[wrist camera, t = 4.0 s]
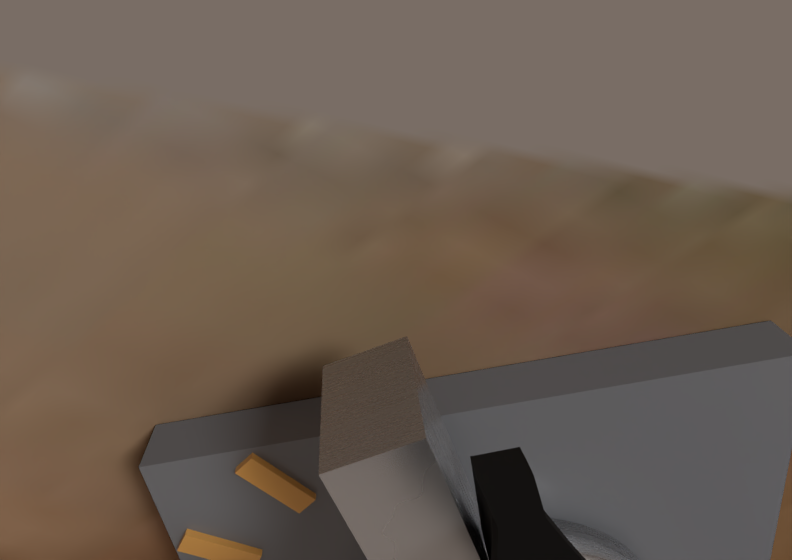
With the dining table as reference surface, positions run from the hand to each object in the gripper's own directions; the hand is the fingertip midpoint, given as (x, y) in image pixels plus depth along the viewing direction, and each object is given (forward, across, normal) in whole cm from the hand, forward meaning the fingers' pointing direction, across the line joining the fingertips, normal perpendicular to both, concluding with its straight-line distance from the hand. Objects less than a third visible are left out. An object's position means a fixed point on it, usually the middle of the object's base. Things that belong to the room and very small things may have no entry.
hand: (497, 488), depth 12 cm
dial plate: (+4, 0, +8) cm, 9 cm away
